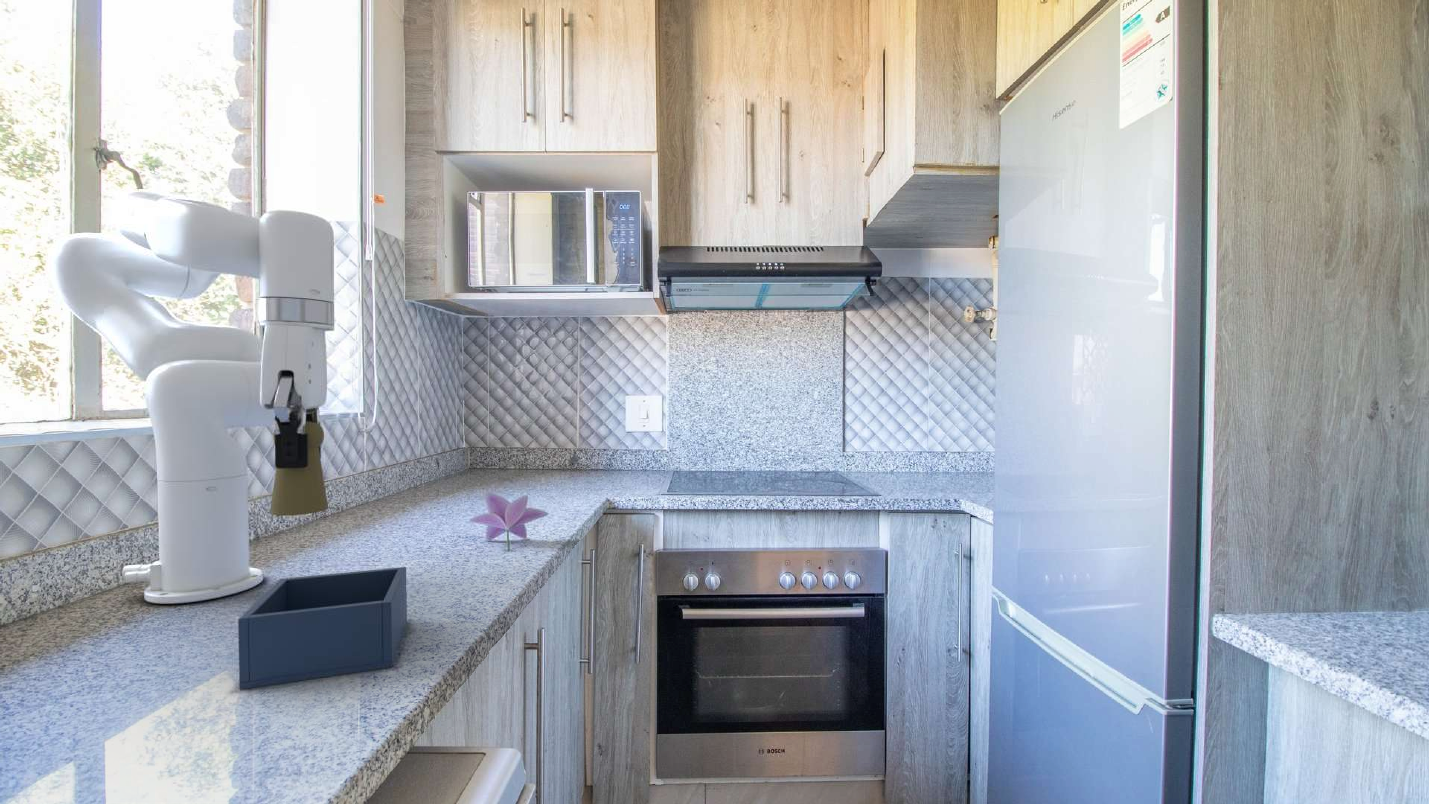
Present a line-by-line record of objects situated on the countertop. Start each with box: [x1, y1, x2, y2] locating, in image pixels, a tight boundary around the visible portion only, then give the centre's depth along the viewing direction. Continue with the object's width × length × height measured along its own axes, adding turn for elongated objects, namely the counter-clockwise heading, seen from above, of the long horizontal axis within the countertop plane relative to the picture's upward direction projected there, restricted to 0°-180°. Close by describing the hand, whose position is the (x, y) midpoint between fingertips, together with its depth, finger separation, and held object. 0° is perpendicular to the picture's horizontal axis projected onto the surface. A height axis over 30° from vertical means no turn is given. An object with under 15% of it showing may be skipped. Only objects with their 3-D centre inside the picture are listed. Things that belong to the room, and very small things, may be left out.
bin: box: [237, 566, 408, 690], centre depth 64 cm, size 13×13×7 cm
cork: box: [269, 421, 329, 517], centre depth 75 cm, size 6×6×11 cm
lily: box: [469, 491, 549, 551], centre depth 107 cm, size 12×12×10 cm
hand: (299, 462), depth 75 cm, fingers closed on cork, 5 cm apart
